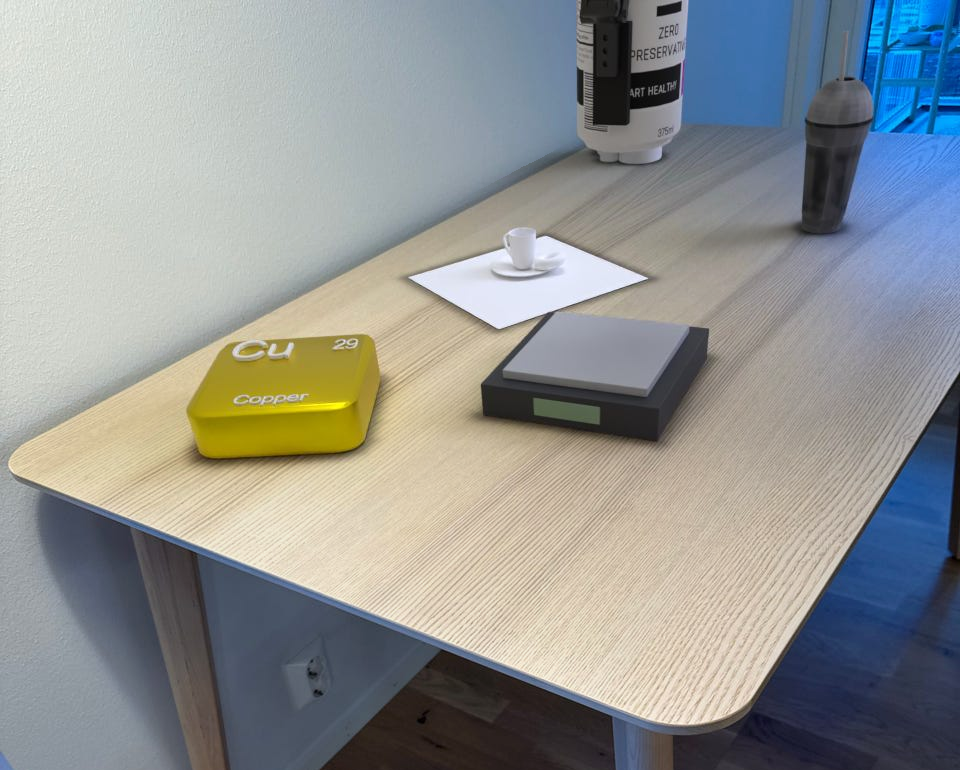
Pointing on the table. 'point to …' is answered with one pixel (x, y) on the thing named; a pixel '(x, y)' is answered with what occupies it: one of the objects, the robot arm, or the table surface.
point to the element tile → (286, 397)
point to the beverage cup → (833, 148)
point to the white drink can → (639, 78)
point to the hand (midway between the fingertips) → (629, 109)
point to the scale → (597, 374)
